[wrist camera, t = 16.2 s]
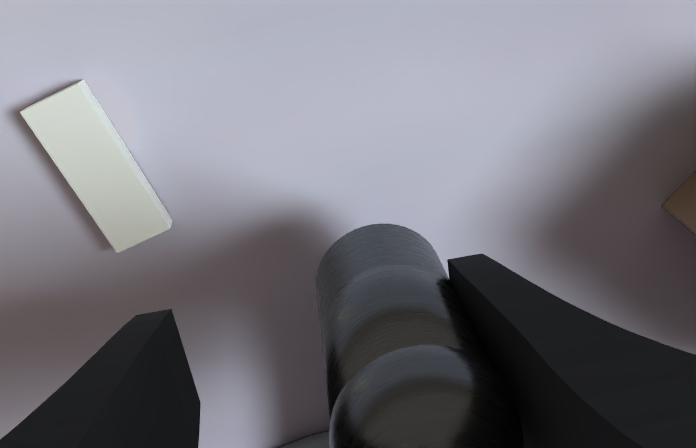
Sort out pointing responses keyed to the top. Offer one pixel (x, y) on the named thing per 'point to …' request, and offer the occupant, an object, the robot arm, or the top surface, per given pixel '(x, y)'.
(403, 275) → the crank
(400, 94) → the top surface
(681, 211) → the brown wooden block
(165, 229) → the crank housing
